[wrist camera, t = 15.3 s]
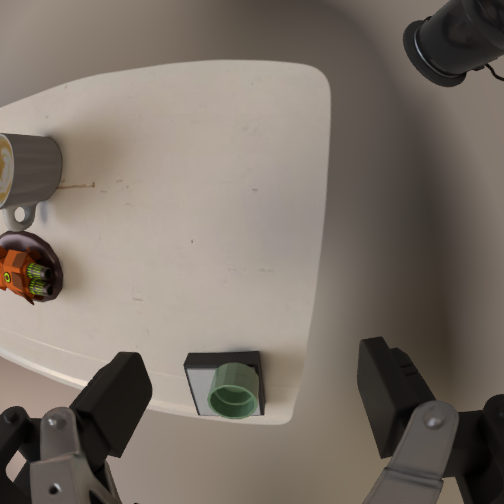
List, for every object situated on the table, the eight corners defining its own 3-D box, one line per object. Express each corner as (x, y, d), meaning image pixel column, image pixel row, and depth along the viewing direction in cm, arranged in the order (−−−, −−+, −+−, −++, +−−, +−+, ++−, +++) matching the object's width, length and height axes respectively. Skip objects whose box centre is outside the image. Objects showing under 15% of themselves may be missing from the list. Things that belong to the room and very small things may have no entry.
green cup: (256, 359, 34) (255, 384, 30) (260, 393, 36) (259, 418, 31) (210, 360, 35) (202, 385, 30) (218, 394, 36) (212, 418, 31)
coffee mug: (25, 138, 32) (-19, 136, 22) (66, 135, 32) (18, 130, 22) (19, 219, 36) (-24, 231, 26) (58, 227, 35) (12, 242, 26)
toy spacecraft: (-9, 226, 36) (-33, 233, 30) (59, 234, 36) (31, 244, 29) (-1, 289, 39) (-23, 301, 33) (67, 311, 39) (44, 329, 32)
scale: (258, 350, 38) (258, 365, 35) (264, 402, 40) (264, 417, 37) (188, 353, 39) (182, 366, 35) (201, 402, 41) (197, 417, 38)
